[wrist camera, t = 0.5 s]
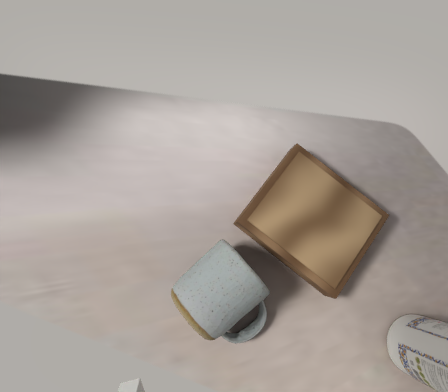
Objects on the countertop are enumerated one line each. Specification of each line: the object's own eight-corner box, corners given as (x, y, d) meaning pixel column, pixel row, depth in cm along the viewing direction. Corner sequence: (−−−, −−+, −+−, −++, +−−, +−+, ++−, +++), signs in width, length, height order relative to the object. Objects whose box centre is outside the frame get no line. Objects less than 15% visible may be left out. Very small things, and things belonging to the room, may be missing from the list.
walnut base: (233, 223, 38) (237, 221, 35) (288, 151, 41) (297, 142, 38) (324, 295, 38) (337, 299, 35) (374, 217, 41) (390, 214, 37)
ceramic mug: (167, 287, 36) (162, 297, 29) (219, 238, 38) (228, 236, 30) (229, 356, 36) (241, 385, 28) (279, 304, 37) (303, 319, 30)
